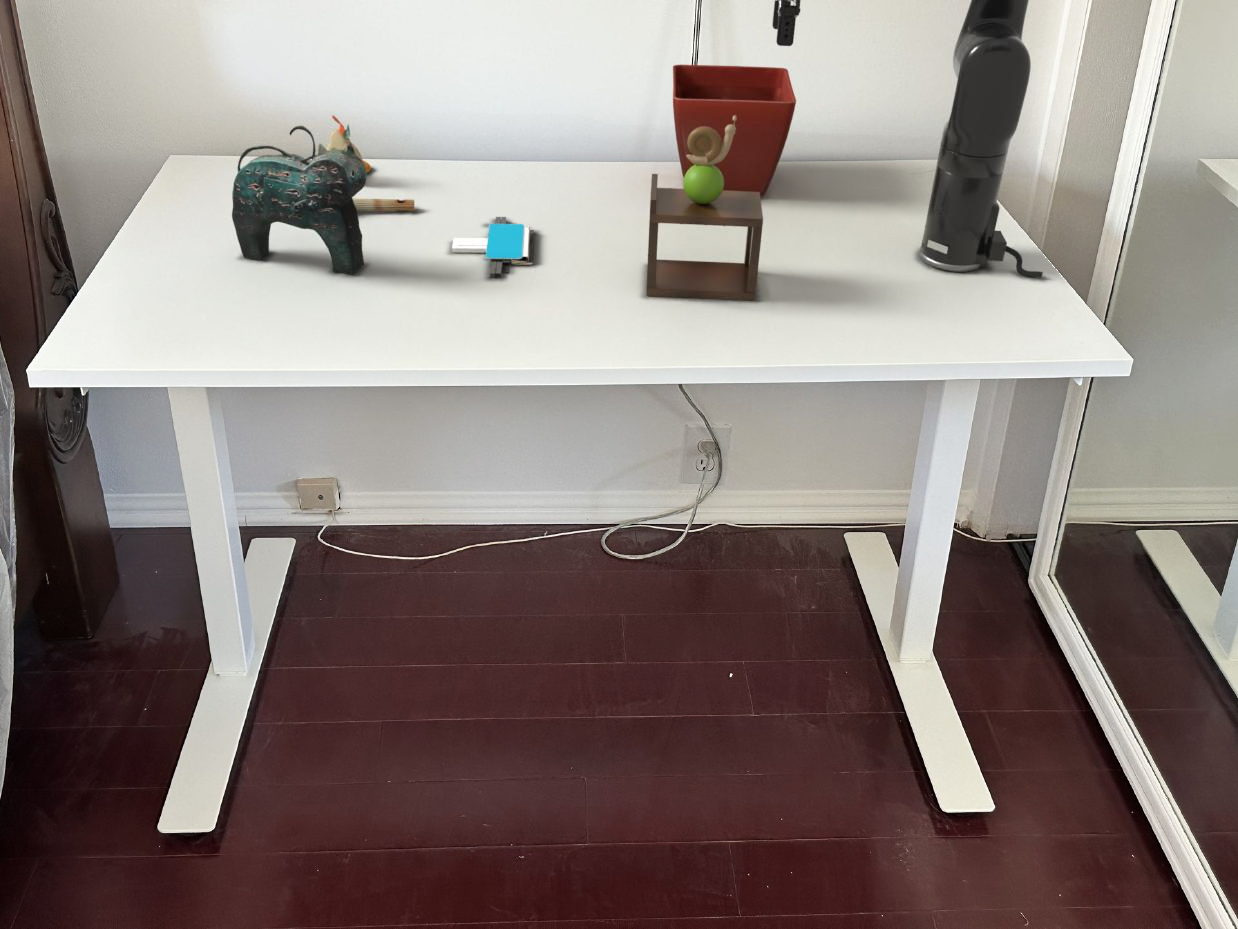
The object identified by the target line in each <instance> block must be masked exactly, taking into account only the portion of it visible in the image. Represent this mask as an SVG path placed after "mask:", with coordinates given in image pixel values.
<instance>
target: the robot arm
mask: <svg viewBox="0 0 1238 929" xmlns="http://www.w3.org/2000/svg"><path fill="white" fill-rule="evenodd" d="M792 2H793V5H792ZM1028 5H1029V0H970V3H969V6H968V9H967V12H966V15H965V17H964V21H963V23H962V26H961V29H960V31H959V34H958V37H957V41H956V43H955V46H954V50H953V54H952V55H953V56H952V67H953V71H954V74H955V76H956V79H957V80H956V86H955V91H954V96H953V101H952V105H951V106H952V107H951V111H950V115H949V117H948V120H947V121H946V122H945V124H944V125H943V129H942V133H941V140H940V145H939V150H938V154H937V155H938V156H937V161H936V165H935V170H934V171H935V172H934V177H933V182H932V188H931V193H930V199H929V204H928V207H927V208H928V209H927V213H926V214H927V215H926V220H925V224H924V229H923V234H922V235H923V236H922V239H921V245H920V248H919V254H918V255H919V258H920V260H921V261H922V262H923V263H925V264H927V265H929V266H931V267H934V268H936V269H938V270H939V269H940V270H943V271H949V272H958V273H959V272H961V273H962V272H972V271H975V270H978V269H987V267H988V262H1003V261H1004V258H1005V254H1006V253H1008V254H1009V255H1012V256H1013V257H1014V259H1015V260H1016V263H1015V269H1016V271H1017V273H1018V274H1019V275H1021V276H1023V277H1027V278H1043V274H1044V272H1043V271H1039V270H1037V271H1036V270H1035V271H1033V270H1026V269H1024V268H1023V257H1022V255H1021V254H1020V253H1019V251H1017V250H1016V249H1014V248H1013V247H1010V246H1009V245H1008V242H1007V240H1006V238H1005V236H1004V235H1003V233H1002V231H1001V230H996V226H997V223H998V217H999V214H1000V210H1001V209H1000V208H1001V207H1000V205H999V204H998V198H999V193H1000V188H1001V183H1002V179H1003V174H1004V172H1005V171H1004V170H1005V165H1006V160H1007V156H1008V153H1009V152H1008V151H1009V148H1010V144H1011V140H1012V138H1013V136H1014V135H1015V134H1016V131H1017V128H1018V125H1019V121H1020V117H1021V114H1022V110H1023V106H1024V104H1025V103H1024V102H1025V99H1026V94H1027V90H1028V87H1029V83H1030V82H1029V81H1030V77H1031V76H1030V75H1031V66H1032V65H1031V64H1032V63H1031V62H1032V60H1031V56H1030V53H1029V50H1028V48H1027V46H1026V45H1025V44H1024V42H1023V30H1024V25H1025V20H1026V14H1027V10H1028ZM800 13H801V0H774V3H773V16H772V23H771V24H772V28H773V29H774V30H777V31H776V45H777V46H779V47H791V46H793V45H794V38H795V30H796V19H797V18H798V16H799V15H800Z"/></svg>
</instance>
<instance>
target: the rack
mask: <svg viewBox="0 0 1238 929" xmlns="http://www.w3.org/2000/svg"><path fill="white" fill-rule="evenodd" d="M658 176H659V174H658V173H651V186H650V198H649V199H650V200H649V202H650V203H649V220H648V221H649V222H648V224H649V226H648V242H647V243H648V246H647V266H646V267H647V271H646V272H647V274H646V289H645V290H646V293H645V295H646V297H662V298H683V299H684V298H685V299H687V298H688V299H710V300H731V301H752V302H753V301H756V293H757V284H758V274H759V263H760V255H761V254H760V253H761V244H762V236H763V225H764V216H763V208H762V201H761V196H760V193H759V192H748V191H724V190H723V191H722V193H721V195H720V196H719V197H718V198H717V199H716V200H715V201H713V202H711V203H708V204H699V203H696V202H694V201H692V200H691V199H690V198H689V197H688V196H687V195H686V193H685V190H684V188H674V187H658V179H659V178H658ZM659 224H673V225H694V226H695V225H696V226H697V225H698V226H719V227H720V226H721V227H743V228H744V227H745V228H747V229H746V238H745V249H744V261H743V262H724V261H721V262H720V261H702V260H701V261H700V260H681V259H679V260H677V259H658V242H659V241H658V238H659Z"/></svg>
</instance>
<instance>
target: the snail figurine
mask: <svg viewBox="0 0 1238 929" xmlns="http://www.w3.org/2000/svg"><path fill="white" fill-rule="evenodd" d="M736 118H737V117H736V116H735V115H734V116H733V121H734V125H732V124H730V125H727V126H726V128H725V137H724V140H723V143H722V141H721V138H720V135H719V134H718V133H717V131H715V130H714V129H712V128H710V127H706V126H703V127H698V128H696V129H694V130H693V131H692V132H691V133H690V135H689V137H688V141H687V145H688V149H689V150H690V152H691V153H692V154H693V155H689V154H688V155H687V158H688V159H689V160H690V161H691V162H692V163H693V164H695V165H693V166H692V167H691V168H690V169H689V170H688V171H687V172H686V174H685V177H683V183H682V184H683V189H684V190H685V193H686V195H687V196H688V197H689V198H690V199H691V200H692V201H694V202H696V203H699V204H708V203H711V202H713V201H715V200H716V199H717V198H718V197H719V196H720V195H721V193H722V191H723V187H724V179H723V175H722V173H721V171H720V170H719V169H718V168H717V167H716V166H714V164H716V163H719V162H720V161H722V160H723V159H724V158H725V157H726V155H727V153H728V151H729V149H730V146H731V143H732V140H733V136H734V134H735V130H736V127H735V121H736Z"/></svg>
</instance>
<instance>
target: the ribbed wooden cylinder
mask: <svg viewBox="0 0 1238 929" xmlns="http://www.w3.org/2000/svg"><path fill="white" fill-rule="evenodd" d="M352 199H353V202H354V204H355V207H356V209H357V211H372V212H373V211H375V212H377V211H379V212H381V211H382V212H383V211H384V212H385V211H386V212H399V211H403V212H415V199H403V200H401V199H399V198H398V199H395V198H359V197H357V198H356V197H355V198H354V197H352Z"/></svg>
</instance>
